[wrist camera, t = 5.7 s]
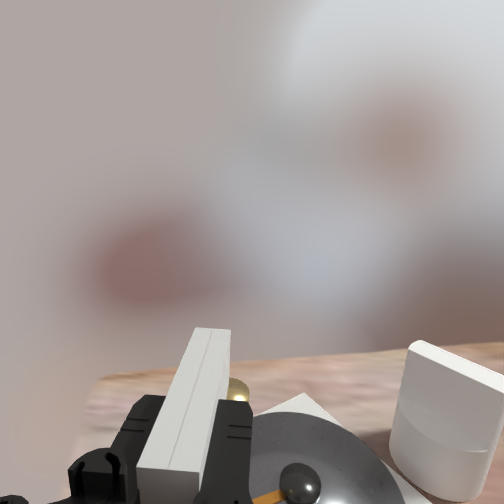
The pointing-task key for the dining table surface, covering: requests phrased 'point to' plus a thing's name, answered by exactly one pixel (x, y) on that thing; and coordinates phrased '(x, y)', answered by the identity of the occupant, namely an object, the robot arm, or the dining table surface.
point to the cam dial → (312, 461)
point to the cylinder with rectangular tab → (446, 422)
